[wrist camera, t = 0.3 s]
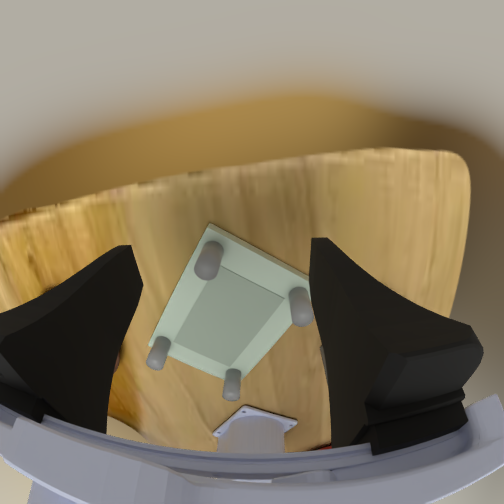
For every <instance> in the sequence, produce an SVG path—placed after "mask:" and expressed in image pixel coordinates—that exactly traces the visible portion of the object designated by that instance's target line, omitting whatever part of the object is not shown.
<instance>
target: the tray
mask: <svg viewBox="0 0 504 504" xmlns="http://www.w3.org/2000/svg"><path fill="white" fill-rule="evenodd" d="M310 301H311V296H310V288H309V276H307V275H305V274H304V273H302V272H300V271H298V270H296V269H294V268H293V267H291V266H289V265H287V264H285V263H283V262H282V261H280V260H278V259H276V258H274V257H272V256H271V255H269V254H267V253H265V252H263V251H261V250H260V249H258V248H256V247H254V246H252V245H250V244H248V243H247V242H245V241H243V240H241V239H239V238H237V237H236V236H234V235H232V234H230V233H228V232H226V231H224V230H223V229H221V228H219V227H217V226H215V225H213V224H211V223H209V225H208V227H207V228H206V230H205V232H204V234H203V236H202V238H201V240H200V241H199V243H198V245H197V247H196V249H195V251H194V253H193V255H192V257H191V259H190V260H189V262H188V264H187V266H186V268H185V270H184V272H183V274H182V276H181V278H180V280H179V282H178V284H177V286H176V288H175V290H174V292H173V294H172V296H171V298H170V300H169V302H168V304H167V306H166V308H165V310H164V312H163V314H162V316H161V318H160V320H159V323H158V325H157V327H156V329H155V331H154V333H153V335H152V337H151V340H150V342H149V344H148V346H150V347H152V348H151V351H150V353H149V355H148V358H147V360H146V364H147V365H148V367H150V368H151V369H153V370H162V369H163V366H164V363H165V361H166V358H167V355H168V356H171V357H173V358H175V359H177V360H179V361H181V362H184V363H186V364H188V365H190V366H193V367H195V368H197V369H199V370H202V371H204V372H207V373H209V374H211V375H214V376H216V377H219V378H221V379H224V387H223V395H222V396H223V398H224V399H225V400H228V401H237V400H238V399H239V398H240V386H241V380H242V379H243V378H244V377H245V376H246V375H247V374H248V373H249V372H250V371H251V369H252V368H253V367H254V366H255V365H256V364H257V363H258V362H259V361H260V360H261V358H262V357H263V356H264V355H265V354H266V353H267V352H268V351H269V350H270V348H271V347H272V346H273V345H274V344H275V343H276V342H277V340H278V339H279V338H280V337H281V336H282V335H283V333H284V332H285V331H286V330H287V329H288V328H289V326H290V325H291V324H292V323H293V324H295V325H296V326H299V327H304V326H307V325H309V324H310V323H311V322H312V321H313V319H314V315H313V311H312V307H311V302H310Z"/></svg>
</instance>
